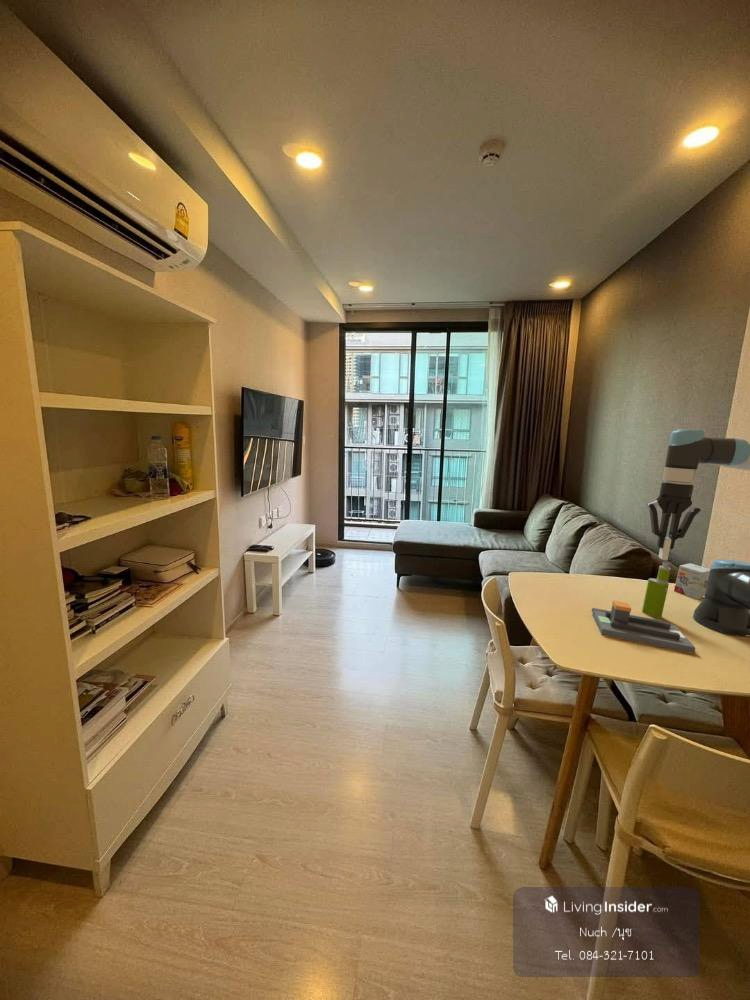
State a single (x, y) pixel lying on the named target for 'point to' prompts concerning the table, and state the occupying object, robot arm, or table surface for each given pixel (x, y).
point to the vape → (657, 592)
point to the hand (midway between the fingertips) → (662, 558)
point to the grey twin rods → (631, 615)
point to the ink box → (692, 580)
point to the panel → (644, 637)
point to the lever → (620, 611)
